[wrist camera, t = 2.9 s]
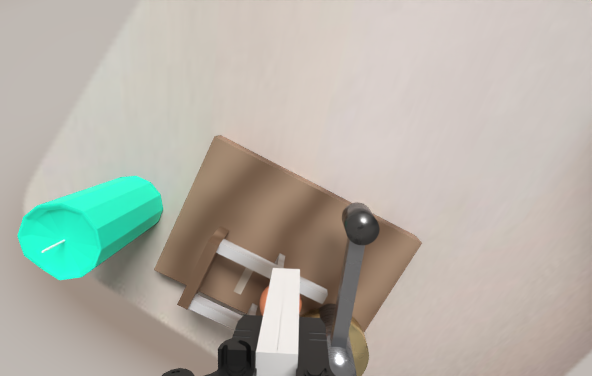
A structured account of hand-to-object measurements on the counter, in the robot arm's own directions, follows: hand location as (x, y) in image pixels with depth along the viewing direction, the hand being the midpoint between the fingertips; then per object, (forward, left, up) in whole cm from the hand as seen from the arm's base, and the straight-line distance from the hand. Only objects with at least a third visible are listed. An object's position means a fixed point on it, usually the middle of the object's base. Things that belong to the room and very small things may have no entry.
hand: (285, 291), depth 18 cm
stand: (-1, +4, -16) cm, 16 cm away
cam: (-8, +5, -13) cm, 16 cm away
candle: (+15, +7, -16) cm, 23 cm away
